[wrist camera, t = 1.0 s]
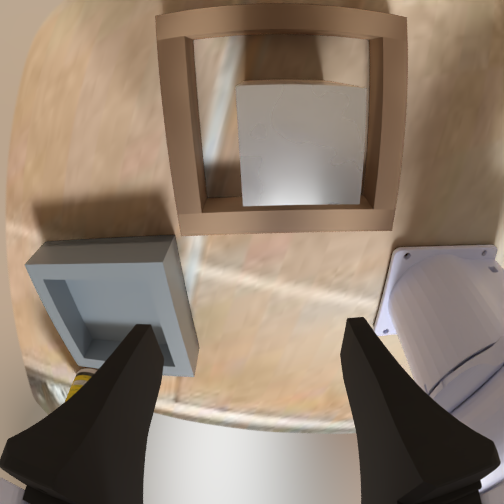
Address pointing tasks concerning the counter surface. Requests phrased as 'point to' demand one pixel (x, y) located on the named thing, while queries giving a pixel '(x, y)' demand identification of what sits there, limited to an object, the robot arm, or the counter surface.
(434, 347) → the robot arm
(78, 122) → the counter surface
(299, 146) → the brushed metal top block
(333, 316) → the counter surface
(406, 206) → the counter surface
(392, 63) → the brown flat square frame
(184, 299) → the tray
